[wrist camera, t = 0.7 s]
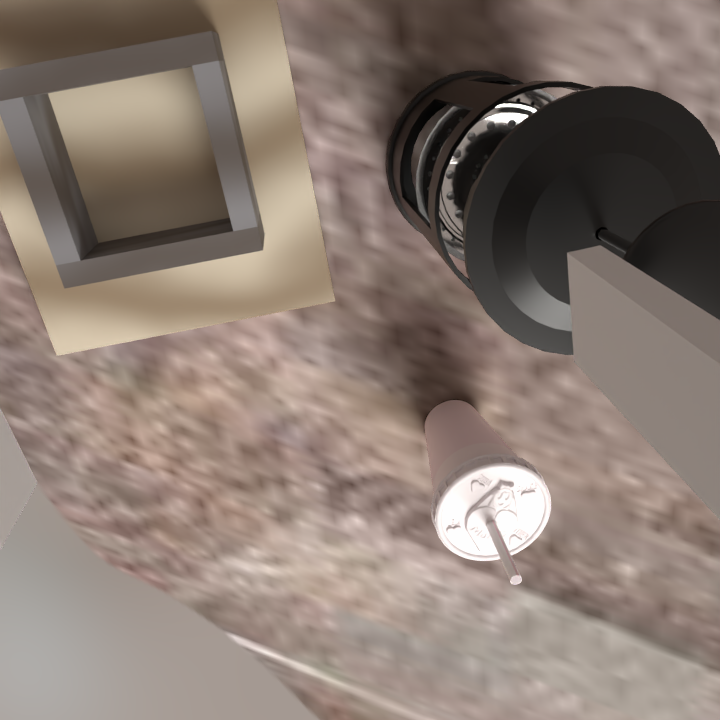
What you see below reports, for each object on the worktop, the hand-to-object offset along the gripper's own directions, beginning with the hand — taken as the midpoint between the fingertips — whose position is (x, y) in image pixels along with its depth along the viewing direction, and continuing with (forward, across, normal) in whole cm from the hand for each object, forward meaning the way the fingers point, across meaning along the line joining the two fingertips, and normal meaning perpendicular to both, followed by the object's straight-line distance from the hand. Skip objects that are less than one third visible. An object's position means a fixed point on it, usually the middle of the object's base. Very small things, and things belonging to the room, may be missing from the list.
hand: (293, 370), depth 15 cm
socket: (+24, -7, +3) cm, 25 cm away
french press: (+24, +10, -2) cm, 27 cm away
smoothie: (+24, +7, -18) cm, 31 cm away
